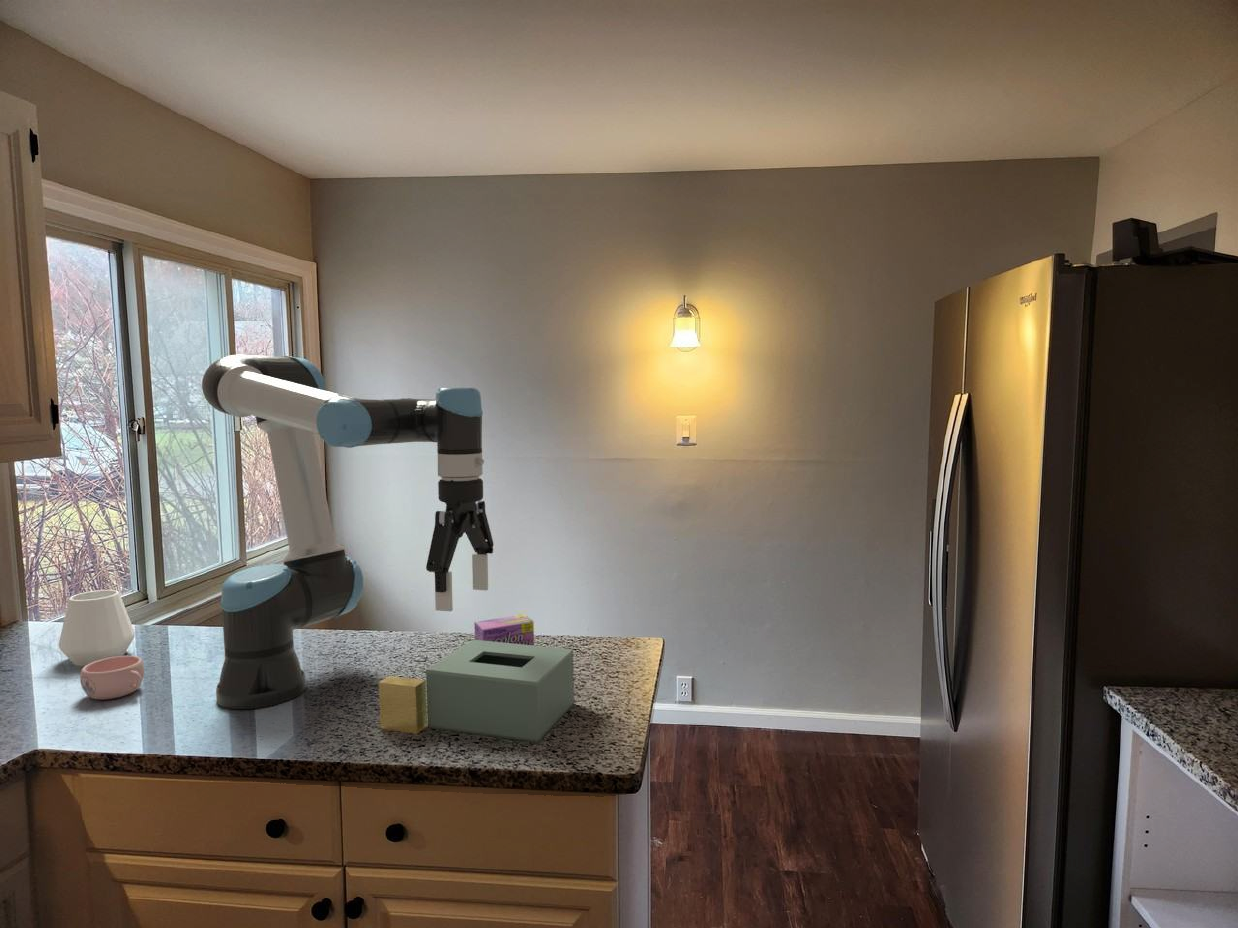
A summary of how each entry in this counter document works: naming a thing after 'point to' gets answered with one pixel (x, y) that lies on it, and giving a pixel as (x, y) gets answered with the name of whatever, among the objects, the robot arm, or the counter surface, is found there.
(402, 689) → the tan rectangular block
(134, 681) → the mug
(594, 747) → the counter surface
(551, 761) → the counter surface
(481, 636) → the box
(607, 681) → the counter surface
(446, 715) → the box
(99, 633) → the white faceted vase
